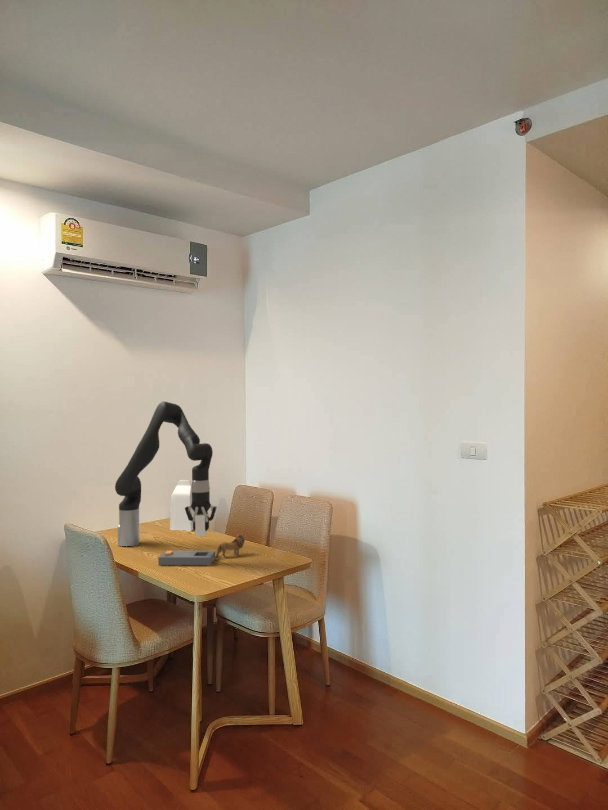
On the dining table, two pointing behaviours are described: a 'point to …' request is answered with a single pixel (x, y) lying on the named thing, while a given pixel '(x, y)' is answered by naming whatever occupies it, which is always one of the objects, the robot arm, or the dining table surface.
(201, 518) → the white rectangular block
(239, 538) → the lion figurine
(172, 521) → the milk
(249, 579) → the dining table surface
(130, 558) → the dining table surface
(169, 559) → the grey board with slot
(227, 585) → the dining table surface
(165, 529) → the dining table surface
